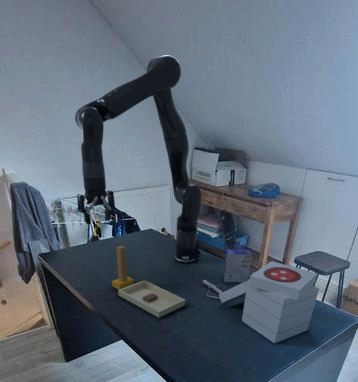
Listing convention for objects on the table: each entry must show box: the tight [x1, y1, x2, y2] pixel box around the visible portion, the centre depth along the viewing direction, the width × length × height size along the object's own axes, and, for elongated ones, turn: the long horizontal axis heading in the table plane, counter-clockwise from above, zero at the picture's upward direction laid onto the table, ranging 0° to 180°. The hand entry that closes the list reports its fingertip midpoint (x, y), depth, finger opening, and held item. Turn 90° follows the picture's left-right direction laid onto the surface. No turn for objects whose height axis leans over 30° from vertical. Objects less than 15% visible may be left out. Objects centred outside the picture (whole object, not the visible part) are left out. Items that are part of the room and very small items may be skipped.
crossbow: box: [202, 279, 232, 299], centre depth 129 cm, size 16×13×2 cm
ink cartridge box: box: [223, 244, 253, 284], centre depth 135 cm, size 10×6×14 cm, turn 89°
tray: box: [117, 280, 186, 318], centre depth 120 cm, size 22×13×3 cm, turn 46°
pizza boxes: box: [218, 260, 320, 344], centre depth 108 cm, size 19×30×18 cm, turn 32°
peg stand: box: [111, 245, 135, 291], centre depth 125 cm, size 4×7×16 cm, turn 136°
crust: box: [143, 293, 158, 303], centre depth 120 cm, size 3×4×1 cm, turn 136°
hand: (98, 221), depth 125 cm, fingers open, 8 cm apart
